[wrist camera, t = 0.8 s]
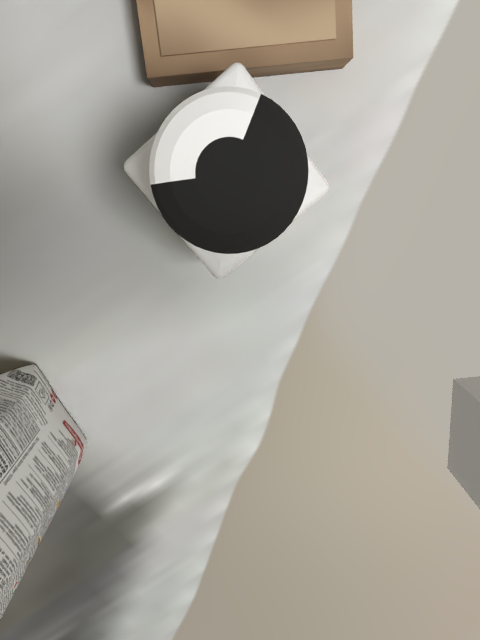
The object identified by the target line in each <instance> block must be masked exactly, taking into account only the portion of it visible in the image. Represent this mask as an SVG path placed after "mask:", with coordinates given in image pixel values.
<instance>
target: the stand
mask: <svg viewBox="0 0 480 640" xmlns="http://www.w3.org/2000/svg"><path fill="white" fill-rule="evenodd" d="M136 3H137V10H138V17H139V24H140V31H141V38H142V45H143V52H144V60H145V67H146V74H147V79H148V80H149V81H150V83H151V84H152V86H153V87H161V86H171V85H181V84H192V83H202V82H212V81H214V80H215V79H216V78H217V77H219V76H220V75H221V74H222V73H223V72H224V71H225V70H226V69H227V68H228V67H230V66H231V65H232V64H234V63H241V64H242V65H243V66H244V67H245V68H246V70H247V71H248V73H249V74H250V75H251V77H262V76H272V75H282V74H292V73H302V72H313V71H323V70H333V69H342V68H343V67H344V66H345V65H346V64H347V63H348V62H349V61H350V60H351V59H352V58H353V29H352V0H136Z"/></svg>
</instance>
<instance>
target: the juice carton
mask: <svg viewBox="0 0 480 640" xmlns="http://www.w3.org/2000/svg"><path fill="white" fill-rule="evenodd" d="M86 444H87V441H86V439H85V437H84V436H83V434H82V433H81V431H80V429H79V428H78V427H77V425H76V424H75V422H74V421H73V420H72V418H71V417H70V416H69V414H68V413H67V412H66V410H65V409H64V407H63V406H62V404H61V403H60V401H59V400H58V398H57V397H56V395H55V393H54V392H53V390H52V388H51V387H50V385H49V384H48V382H47V380H46V379H45V377H44V376H43V374H42V373H41V372H40V370H39V369H38V368H37V366H36V365H28V366H24V367H21V368H18V369H14V370H11V371H8V372H6V373H3V374H0V619H1V617H2V615H3V613H4V612H5V610H6V608H7V606H8V604H9V602H10V600H11V598H12V596H13V594H14V592H15V590H16V588H17V586H18V584H19V582H20V580H21V579H22V577H23V575H24V573H25V571H26V569H27V567H28V565H29V563H30V561H31V559H32V557H33V555H34V553H35V551H36V549H37V547H38V546H39V544H40V542H41V540H42V538H43V536H44V534H45V532H46V530H47V528H48V526H49V524H50V522H51V520H52V518H53V516H54V514H55V513H56V511H57V509H58V507H59V505H60V503H61V501H62V499H63V497H64V495H65V493H66V491H67V489H68V487H69V485H70V483H71V481H72V479H73V477H74V475H75V473H76V470H77V468H78V465H79V463H80V461H81V458H82V456H83V453H84V450H85V448H86Z"/></svg>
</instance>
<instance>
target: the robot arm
mask: <svg viewBox="0 0 480 640" xmlns="http://www.w3.org/2000/svg"><path fill="white" fill-rule="evenodd" d="M448 469H449V470H450V472H451V473H452V474H453V476H454V477H455V478H456V479H457V480H458V482H459V483H460V484H461V486H462V487H463V488H464V489H465V491H466V492H467V493H468V495H469V496H470V497H471V498H472V500H473V501H474V502H475V504H476V505H477V506H478V507H479V509H480V376H479V377H469V378H459V379H453V393H452V408H451V424H450V439H449V455H448Z"/></svg>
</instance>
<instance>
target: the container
mask: <svg viewBox="0 0 480 640" xmlns="http://www.w3.org/2000/svg"><path fill="white" fill-rule="evenodd" d="M124 170H125V172H126V173H127V174H128V176H129V177H130V178H131V179H132V180H133V181H134V183H135V184H136V185H137V186H138V187H139V189H140V190H141V191H142V192H143V193H144V194H145V196H146V197H147V198H148V199H149V200H150V201H151V203H152V204H153V205H154V206H155V207H156V209H157V210H158V211H159V212H160V213H161V214H162V216H163V218H164V219H165V220H166V222H167V223H168V224H169V226H170V227H171V228H172V229H173V230H174V231H175V232H176V233H177V234H178V235H179V236H180V237H181V238H182V239H183V240H184V241H185V243H186V244H187V245H188V246H189V247H190V249H191V250H192V251H193V252H194V253H195V254H196V256H197V257H198V258H199V259H200V260H201V261H202V263H203V264H204V265H205V266H206V267H207V269H208V270H209V271H210V272H211V273H212V274H213V276H215V277H216V278H223V277H225V276H226V275H227V274H228V273H230V272H231V271H232V270H233V269H234V268H236V267H237V266H238V265H239V264H241V263H242V262H243V261H244V260H245V259H247V258H248V257H249V256H250V255H252V254H253V253H254V252H255V251H256V250H258V249H259V248H260V247H262V246H264V245H266V244H268V243H269V242H271V241H273V240H274V239H276V238H277V237H278V236H279V235H280V234H281V233H282V232H284V231H285V229H286V228H287V227H288V226H289V225H290V224H291V223H292V221H293V220H294V219H295V218H297V217H298V216H299V215H300V214H302V213H303V212H304V211H305V210H306V209H308V208H309V207H310V206H311V205H313V204H314V203H315V202H316V201H317V200H319V199H320V198H321V197H322V196H324V195H325V194H326V193H327V191H328V190H329V185H328V182H327V181H326V179H325V178H324V176H323V175H322V174H321V172H320V171H319V170H318V168H317V167H316V165H315V164H314V163H313V161H312V160H311V158H310V157H309V156H308V154H307V153H306V148H305V145H304V142H303V139H302V136H301V134H300V132H299V130H298V129H297V127H296V125H295V123H294V122H293V121H292V119H291V118H290V116H289V115H288V114H287V113H286V112H285V111H284V110H283V109H282V108H281V107H280V106H279V105H278V104H276V103H275V102H274V101H273V100H271V99H270V98H268V97H266V96H265V95H264V93H263V92H262V91H261V89H260V88H259V86H258V85H257V84H256V82H255V81H254V79H253V78H252V77H251V75H250V74H249V73H248V71H247V70H246V68H245V67H244V66H243V65H242V64H241V63H234V64H232V65H231V66H230V67H228V68H227V69H226V70H225V71H224V72H223V73H222V74H221V75H220V76H219V77H217V78H216V79H215V80H214V81H213V82H212V83H211V84H210V85H209V86H208V87H206V88H205V89H204V90H203V91H201V92H199V93H196V94H194V95H192V96H190V97H189V98H187V99H186V100H184V101H183V102H181V103H180V104H179V105H178V106H177V107H175V108H174V109H173V110H172V112H171V113H170V114H169V115H168V116H167V117H166V119H165V120H164V122H163V123H162V125H161V126H160V128H159V130H158V132H157V133H156V134H155V135H154V136H153V137H151V138H150V139H149V140H148V141H147V142H146V143H145V144H144V145H143V146H141V147H140V148H139V149H138V150H137V151H136V152H135V153H134V154H133V155H132V156H130V157H129V158H128V159H127V160H126V161H125V163H124Z"/></svg>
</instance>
